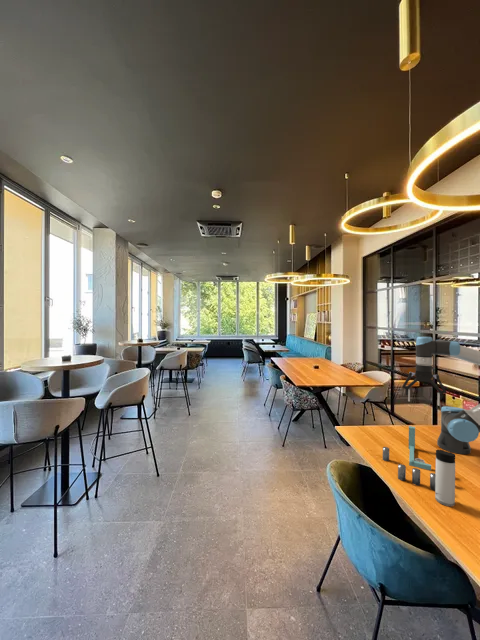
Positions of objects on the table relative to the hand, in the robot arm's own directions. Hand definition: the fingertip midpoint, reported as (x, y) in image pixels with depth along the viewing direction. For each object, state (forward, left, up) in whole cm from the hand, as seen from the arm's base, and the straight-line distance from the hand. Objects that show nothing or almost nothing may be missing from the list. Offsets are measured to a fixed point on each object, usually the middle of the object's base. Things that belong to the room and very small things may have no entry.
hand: (423, 403), depth 153 cm
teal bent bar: (+2, +10, -27) cm, 28 cm away
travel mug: (-6, +47, -27) cm, 54 cm away
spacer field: (+5, +30, -27) cm, 41 cm away
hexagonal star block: (+2, +17, -27) cm, 32 cm away
